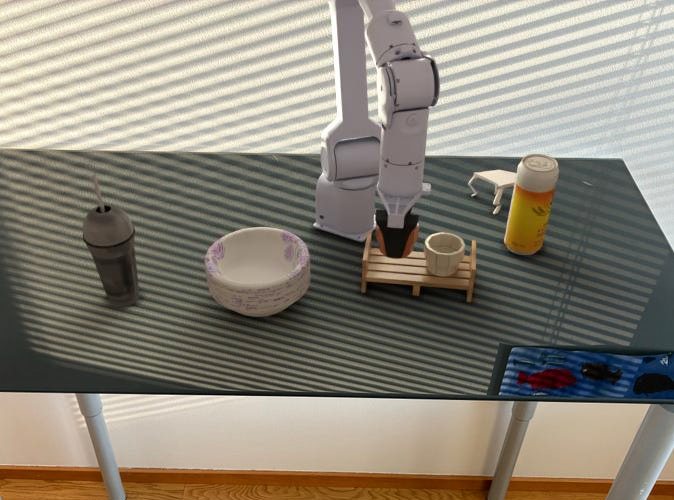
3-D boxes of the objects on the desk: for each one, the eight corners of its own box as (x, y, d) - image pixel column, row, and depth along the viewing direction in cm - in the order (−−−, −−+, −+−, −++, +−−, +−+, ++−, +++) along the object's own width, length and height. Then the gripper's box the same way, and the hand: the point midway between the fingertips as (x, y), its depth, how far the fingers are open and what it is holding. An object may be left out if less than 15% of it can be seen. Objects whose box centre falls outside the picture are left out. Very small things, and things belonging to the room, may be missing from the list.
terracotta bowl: (368, 255, 107) (369, 228, 104) (386, 234, 110) (388, 207, 107) (405, 267, 105) (407, 239, 102) (422, 245, 108) (425, 218, 105)
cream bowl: (416, 273, 114) (418, 248, 111) (432, 252, 118) (435, 228, 115) (452, 284, 112) (455, 259, 109) (467, 263, 116) (470, 238, 113)
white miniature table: (474, 217, 130) (478, 192, 127) (465, 191, 136) (469, 166, 133) (544, 215, 131) (549, 190, 127) (532, 190, 137) (537, 165, 133)
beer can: (541, 259, 121) (560, 174, 111) (502, 254, 122) (518, 170, 112) (541, 238, 126) (560, 154, 116) (504, 233, 127) (519, 150, 117)
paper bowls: (197, 281, 118) (190, 238, 112) (288, 258, 122) (286, 215, 117) (228, 342, 108) (222, 298, 102) (326, 314, 112) (326, 270, 106)
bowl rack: (366, 263, 121) (368, 231, 117) (471, 271, 119) (476, 239, 115) (361, 292, 116) (362, 260, 111) (470, 302, 114) (476, 269, 110)
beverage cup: (107, 318, 112) (76, 199, 98) (93, 291, 116) (62, 173, 103) (154, 303, 114) (131, 185, 100) (139, 277, 119) (115, 161, 105)
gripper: (431, 186, 92) (422, 276, 101) (436, 130, 102) (427, 217, 111) (373, 181, 93) (369, 272, 102) (383, 127, 103) (379, 213, 112)
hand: (396, 243), depth 107 cm, fingers closed on terracotta bowl, 5 cm apart
